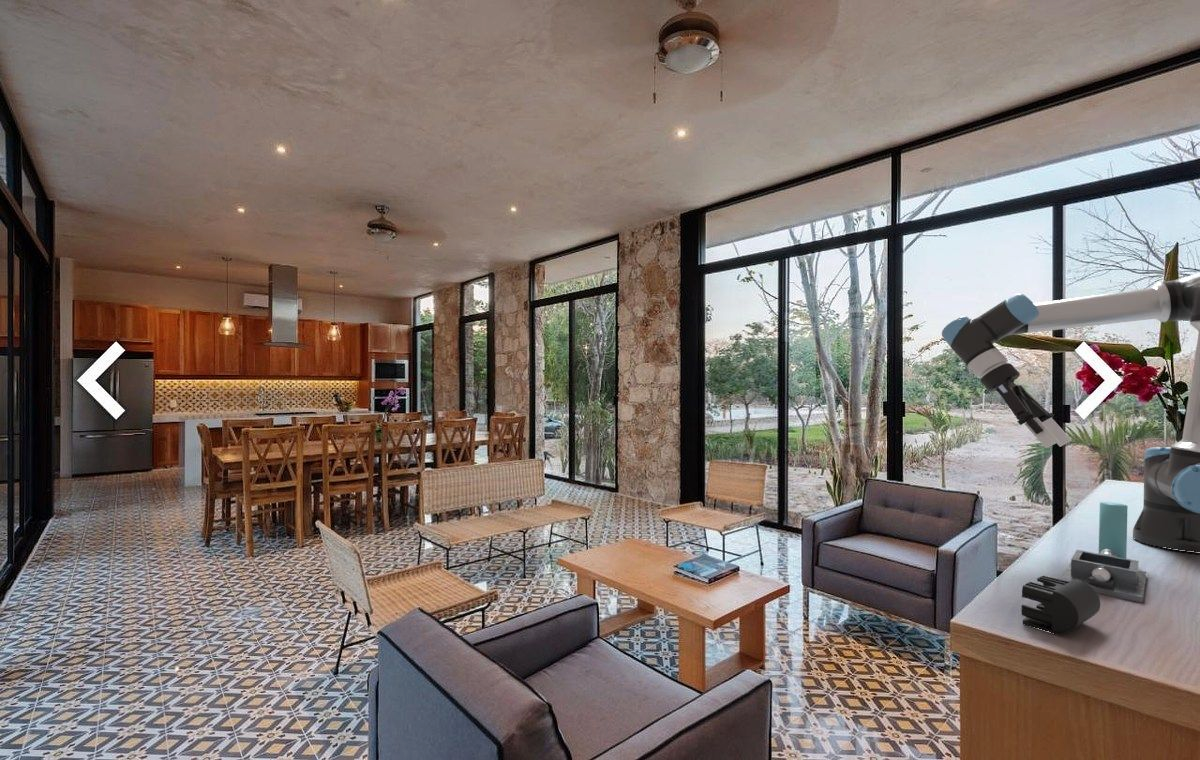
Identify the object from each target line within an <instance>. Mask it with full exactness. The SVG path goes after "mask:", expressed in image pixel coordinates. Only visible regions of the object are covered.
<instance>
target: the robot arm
mask: <svg viewBox="0 0 1200 760" xmlns="http://www.w3.org/2000/svg"><path fill="white" fill-rule="evenodd" d="M1147 320H1157V321H1159V322H1161V323H1167V322H1168V323H1169V322H1176V321H1177V322H1178V321H1179V322H1181V321H1190V322H1189V325H1190V326H1192V327H1193V328H1194V329H1195V330H1197V332H1198V333H1197V334H1198V335H1197V343H1196V348H1195V355H1194V361H1193V368H1192V373H1191V381H1190V386H1189V392H1188V400H1187V407H1186V412H1185V413H1186V414H1185V419H1184V426H1183V432H1182V438H1181V439H1180V440H1179V441H1177V442H1176V443H1173V444H1172V445H1170V446H1169V447H1167V446H1166V447H1162V446H1160V447H1159V446H1157V447H1156V446H1155V447H1149V448H1146V450H1145V452H1144V458H1143V459H1142V460H1143V463H1144V465H1143V468H1144V469H1143V507H1142V510H1141V512H1140V514H1139V516H1138V518H1137V520H1136V522H1135V524H1134V527H1133V528H1132V539H1133V538H1135V539H1136V540H1138V541H1137V542H1139V541H1140V542H1139V543H1141V542H1143V543H1142V544H1144V543H1146V544H1145V545H1148V544H1150V545H1149V546H1151V545H1155V546H1159V547H1158V548H1160V547H1166V548H1171V549H1178V550H1185V551H1194V552H1200V272H1197V273H1194V274H1191V275H1188V276H1186V277H1182V278H1177V279H1173V280H1167V281H1161V282H1160V281H1159V282H1157V283H1155V285H1154V286H1152V287H1149V288H1140V289H1133V290H1126V291H1117V292H1112V293H1104V294H1103V293H1102V294H1098V295H1097V294H1095V295H1089V296H1088V295H1087V296H1082V297H1074V298H1073V297H1072V298H1067V299H1060V300H1059V299H1057V300H1052V301H1044V302H1038V303H1037V302H1035V303H1034V302H1033V301H1032V300H1031V299H1030V298H1029V297H1027V296H1026V295H1025V294H1023V293H1020V292H1018V293H1015V294H1013V295H1012V296H1010V297H1008V298H1006V299H1004V300H1003V301H1001V302H1000V303H997V305H995V306H993V307H992V308H990V309H988V310H987V311H986V312H984V313H982V314H980V315H979V316H978V317H975V318H974V319H971V318H969V317H968V316H965V315H964V316H960V317H958V318H956V319H954V320H952V321H949V323H947V324H946V326H945V327H943V329H942V331H941V337H942V339H944V341H945V342H946V344H948V346H949V347H950V348H951V350H952V351H953V352H954V353H955V354H956V355H957V356H958V357H959V359H960V360H961V361H962V362H963V363H964V364H965V365H966V366H967V367H968V368H969V370H968V373H969V374H974V375H975V377H976V378H977V379H980V383H981V384H982V385H983V387H985V388H986V390H987V391H988V392H990V393H992V392H993V393H994V392H996V393H998V394H999V395H1000V397H1001V398H1002V399H1003V400H1004V402H1005V404H1006V405H1007V406H1008V407H1009V409H1010V411H1011V412H1012V413H1013V415H1014V416H1015V417H1016V420H1017V421H1016V422H1017V424H1019V425H1020V426H1022V425H1023V424H1024V425H1025V426H1026V428H1027V429H1028V430H1029V431H1030V432H1031V433H1032V435H1033V436H1034V437H1035V438H1036V439H1037V440H1038V441H1039V442H1040V444H1041V445H1042V446H1043V447H1044V448H1045V449H1048V448H1050V447H1052V446H1055V444H1056V445H1058V446H1059V448H1060V447H1062V446H1065V445H1066V444H1068V443H1069V444H1070V442H1072V441H1073V439H1071V437H1070V436H1069V435H1068V434H1067V433H1066V432H1065V430H1063V428H1062V427H1061V426H1060V425H1059V424H1058V423H1057V422H1056V420H1054V419H1053V418H1054V417H1055V415H1054V414H1053V412H1051V413H1050V412H1048V411H1047V410H1046V409H1045V408H1044V407H1043V406H1042V405H1041V404H1040V403H1039V402H1038V401H1037V400H1036V398H1034V397H1033V396H1031V394H1030V393H1028V392H1027V391H1026V389H1025V388H1024V387H1023V385H1020V384H1019V385H1018V384H1016V383H1015V381H1016V380H1017V379H1018V378H1020V375H1021V374H1020V372H1019V370H1017V369H1016V368H1015V367H1014V365H1013V364H1012V363H1009V359H1008V358H1007V357H1006V356H1005V355H1004V354H1003V353H1002V352H1001V351H1000V350H999V349H998V347H996V345H994V343H997V342H998V341H1000V340H1001V339H1002V340H1003V338H1005V337H1008V336H1014V335H1015V336H1016V335H1022V334H1023V335H1024V334H1029V333H1039V332H1047V331H1058V330H1065V329H1066V330H1067V329H1076V328H1084V327H1085V328H1086V327H1095V326H1101V325H1110V324H1111V325H1112V324H1119V323H1120V324H1121V323H1128V322H1136V321H1137V322H1138V321H1147ZM1135 539H1134V540H1135ZM1136 540H1135V541H1136ZM1155 546H1154V547H1155Z"/></svg>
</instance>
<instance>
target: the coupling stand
mask: <svg viewBox="0 0 1200 760" xmlns="http://www.w3.org/2000/svg"><path fill="white" fill-rule="evenodd" d="M1070 559H1071V560H1070V562H1069V564H1068V566H1067V568H1066V570H1065V571H1064V573H1063V575H1062V576H1061V578H1060V579H1059V580H1063V581H1067V582H1071V581H1072V580H1074V579H1078V580H1081V581H1083V582H1085V583H1087V584H1088V585H1090V586H1091V587H1092V588H1093V589H1094V590H1095V591H1096V593H1097V594H1098V595H1099V594H1100V595H1104V596H1109V597H1114V598H1118V599H1122V600H1126V601H1127V600H1128V601H1131V602H1135V603H1140V604H1143V600H1144V595H1145V587H1146V582H1147V580H1146V579H1147V571H1144V570H1139V560H1135V559H1130V558H1126V559H1125V558H1120V557H1117V555H1116V553H1115V552H1114V551H1112V550H1110V549H1104V550H1102V551H1101V553H1100V554H1099V552H1098V553H1096V552H1093V551H1085V550H1081V549H1076V550H1075V553H1073V555H1072V557H1071V558H1070Z"/></svg>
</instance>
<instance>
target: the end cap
mask: <svg viewBox="0 0 1200 760" xmlns="http://www.w3.org/2000/svg"><path fill="white" fill-rule="evenodd" d="M1036 582H1039V583H1040V584H1039V583H1036ZM1036 582H1032V581H1029V582H1026V583H1025V584H1023V585H1022V586H1021V587H1022V588H1021V598H1024V599H1028V600H1031V601H1034V602H1038V604H1037V605H1036V608H1035V607H1033V606H1030V605H1025V604H1021V610H1020V611H1021V613H1020V614H1021V615H1022V616H1023V617H1025V618H1023V619H1022V623H1023V624H1022V625H1024V624H1025V625H1024V626H1026V625H1028V626H1027V627H1029V626H1031V627H1030V628H1032V627H1035V628H1039V629H1042V630H1045V631H1049V632H1051V633H1054V634H1058V635H1057V636H1060V635H1063V634H1066V633H1069V632H1072V631H1073V630H1075V629H1076V628H1078V627H1079V626H1080V625H1082V624H1084V623H1085V622H1086V621H1088V620H1089V619H1092V618H1093V617H1094V616H1096V614H1098V613H1099V611H1100V608H1101V599H1100V596H1099V593H1096V591H1095V590H1094V589H1093V588H1092V587H1091V586H1090V585H1088V584H1087V583H1085V582H1083V581H1081V580H1078V579H1074V580H1072V581H1071V582H1067V581H1063V580H1060V579H1058V578H1055V577H1050V576H1047V575H1041V576H1040V577H1038V578H1036ZM1041 583H1043V584H1041ZM1035 628H1034V629H1035ZM1054 634H1053V635H1054Z"/></svg>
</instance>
